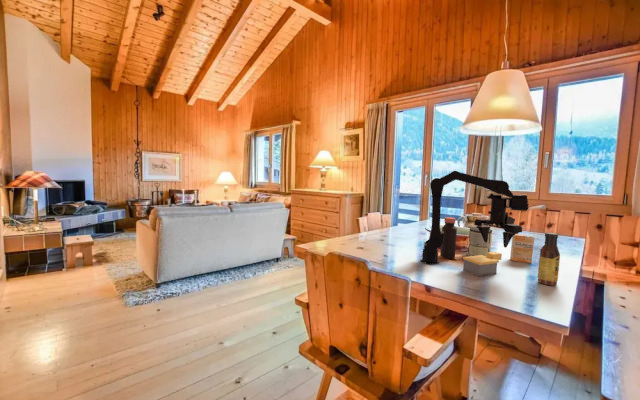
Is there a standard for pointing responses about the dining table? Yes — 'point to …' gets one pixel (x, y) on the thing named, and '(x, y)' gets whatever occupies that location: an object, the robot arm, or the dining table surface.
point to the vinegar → (449, 239)
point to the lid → (485, 258)
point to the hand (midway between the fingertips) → (495, 244)
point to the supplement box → (522, 248)
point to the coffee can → (478, 243)
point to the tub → (480, 268)
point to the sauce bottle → (549, 261)
